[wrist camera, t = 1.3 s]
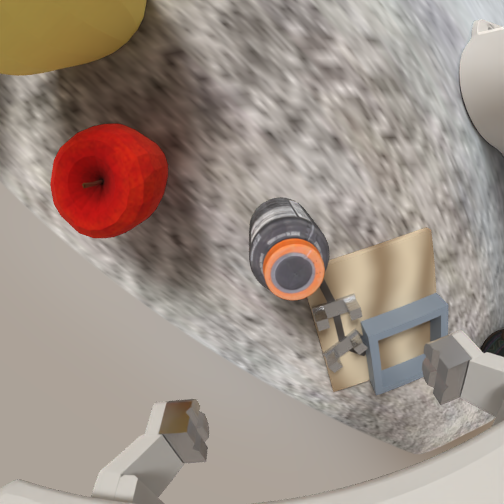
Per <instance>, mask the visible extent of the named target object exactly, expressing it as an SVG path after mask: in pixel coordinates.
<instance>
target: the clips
mask: <svg viewBox="0 0 504 504" xmlns="http://www.w3.org/2000/svg"><path fill="white" fill-rule="evenodd" d="M311 309H312V312H313V315H314V319H315V322H316V324H317V327H318V330H319V331H322V330H325V329H328V328H330V325H329V321H328V318H332V317H335V316H338V315H341V314H344V313H347V312H348V314H349V316H350V318H351V320H355V319H358V318H361V317H362V311H361V307H360V305H359V303H358V302H357V300H356V298H355V294H354V293H353V294H350V295H347V296H344V297H341V298H338V299H335V300H334V301H331V302H326V303H323V304H320V305H317V306H313V307H311ZM352 348H354V350H355V351H356V352H357V353H358V354H359V355H360V354H361V353H363V352H364V351H365V350H367V349H368V347H367V345H366V343H365V341H364V337H363V336H362V335H361V334H360V333H359V331H358V330H357V329H356V328H355V329H354V330H352V331H351V332H350V333H349V334H347V335H346V336H345V337H344V338H343V339H342V340H340V341H338V342H337V343H335V344H334V345H333V346H331V347H330V348H329V349H327V350H326V351H325V352H323V355H324V356H325V358H326V361H327V364H328V368H329V369H331V370H332V371H333V372H334V373H335V372H336V371H338V370H339V369H341V368H342V367H343V365H342V363H341V360H340V357H341V356H342V355H344V354H345V353H346V352H348V351H349V350H350V349H352Z"/></svg>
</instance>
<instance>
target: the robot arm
mask: <svg viewBox="0 0 504 504" xmlns="http://www.w3.org/2000/svg"><path fill="white" fill-rule="evenodd" d="M459 76H460V86H461V91H462V96H463V100H464V103H465V106H466V109H467V111H468V114H469V116H470V118H471V120H472V122H473V124H474V125H475V127H476V129H477V130H478V132H479V133H480V134H481V135H482V137H483V138H484V139H485V140H486V141H487V142H488V143H489V144H491V145H492V146H493V147H495V148H496V149H498V150H499V151H500V152H501V153H502V155H503V156H504V27H502V26H499V25H496V24H493V23H491V22H488V21H485V20H476V21H474V23H473V27H472V37H471V40H470V41H469V43H468V44H467V45H466V47H465V49H464V51H463V53H462V56H461V60H460V70H459ZM423 353H424V354H425V355H426V357H425V359H424V360H423V362H422V372H423V377H424V379H425V381H426V383H427V384H428V385H429V386H431V387H434V391H433V394H434V396H435V397H436V399H437V400H438V402H439V404H440V405H442V404H445V403H447V402H450V401H452V400H454V399H457V398H459V397H460V398H461V399H463V400H465V401H466V402H468V403H470V404H472V405H474V406H476V407H478V408H480V409H482V410H483V411H485V412H487V413H489V414H491V415H493V416H495V417H496V418H495V420H494V423H493V425H492V427H491V428H489V429H488V430H486V431H484V432H482V433H481V434H479V435H477V436H475V437H473V438H471V439H469V440H467V441H466V442H463V443H461V444H460V445H458V446H455V447H453V448H451V449H449V450H447V451H445V452H443V453H441V454H438V455H436V456H434V457H432V458H429V459H427V460H424V461H422V462H420V463H417V464H415V465H412V466H410V467H407V468H404V469H401V470H399V471H396V472H393V473H390V474H387V475H385V476H381V477H378V478H375V479H372V480H368V481H365V482H362V483H358V484H355V485H351V486H348V487H344V488H340V489H336V490H332V491H327V492H323V493H318V494H314V495H309V496H303V497H297V498H291V499H286V500H278V501H271V502H262V503H253V504H504V357H502V356H498V355H495V354H492V353H488V352H486V353H483V352H482V351H481V350H480V349H479V348H478V347H477V346H476V344H475V343H474V342H473V341H472V340H471V339H470V338H469V337H468V336H467V335H466V334H465V333H464V332H463V331H462V330H458V331H456V332H453V333H451V334H449V335H446V336H444V337H441V338H439V339H436V340H434V341H431V342H429V343H426V344H425V346H424V352H423ZM199 409H200V405H199V403H198V401H197V400H196V399H189V400H176V401H165V402H156V403H155V404H154V405H153V408H152V411H151V414H150V418H149V421H148V424H147V428H146V431H145V435H141V436H139V437H138V438H137V439H136V440H135V441H134V442H133V443H132V444H130V445H129V446H128V447H127V448H126V449H125V450H124V451H123V452H122V453H120V454H119V455H118V456H117V457H116V458H115V459H114V460H112V461H111V462H110V463H109V464H108V465H106V466H105V467H104V468H103V469H102V470H101V471H100V472H99V475H98V477H97V481H96V484H95V486H94V489H93V492H92V495H91V497H87V496H82V495H77V494H72V493H68V492H63V491H59V490H55V489H51V488H47V487H44V486H40V485H37V484H34V483H30V482H27V481H24V480H14V481H12V482H10V483H8V484H7V485H5V486H3V487H2V488H0V504H164V503H163V502H162V501H161V500H160V499H159V498H158V497H159V496H160V495H161V494H162V492H163V491H164V490H165V488H166V487H167V486H168V485H169V483H170V482H171V481H172V480H173V478H174V477H175V476H176V474H177V473H178V472H179V470H180V469H181V468H182V466H183V465H184V464H183V463H196V462H206V459H207V449H208V447H207V445H206V444H205V441H206V440H207V439H208V438H209V426H208V422H207V418H206V416H205V414H204V413H202V412H200V411H199Z"/></svg>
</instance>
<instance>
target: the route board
mask: <svg viewBox="0 0 504 504" xmlns="http://www.w3.org/2000/svg"><path fill="white" fill-rule="evenodd" d="M353 293H354V294H355V298H356V300H357V302H358V303H359V305H360V307H361V311H362V317H361V318H358V319H355V320H351V318H350V316H349V314H348V312H347V313H344V314H341V315H338V316H335V317H332V318H328V321H329V325H330V328H328V329H325V330H322V331H319V330H318V327H317V324H316V322H315V319H314V315H313V312H312V309H311V307H313V306H317V305H320V304H323V303H326V302H331V301H334V300H335V299H338V298H341V297H344V296H347V295H350V294H353ZM434 293H436V280H435V265H434V253H433V243H432V234H431V230H430V229H429V228H427V227H426V228H423V229H420V230H418V231H415V232H412V233H409V234H406V235H403V236H400V237H397V238H395V239H392V240H389V241H386V242H383V243H380V244H377V245H374V246H371V247H368V248H365V249H362V250H359V251H356V252H353V253H350V254H347V255H344V256H341V257H338V258H335V259H332V260H329V262H328V266H327V269H326V271H325V275H324V278H323V281H322V283H321V285H320V287H319V288H318V289H317V290H316V291H315V292H314V293H313V294H312V295H310V296H308V297H307V299H308V302H309V305H310V309H311V312H312V316H313V319H314V323H315V326H316V330H317V333H318V337H319V340H320V344H321V348H322V351H323V352H325V351H326V350H327V349H329V348H330V347H331V346H333V345H334V344H335V343H337V342H338V341H340V340H342V339H343V338H344V337H345V336H346V335H347V334H349V333H350V332H351V331H352V330H354V329H355V328H356V329H357V330H358V331H359V333H360V334H361V335H362V336H363V334H362V328H361V321H364V320H366V319H369V318H372V317H375V316H378V315H380V314H383V313H386V312H388V311H391V310H394V309H396V308H399V307H402V306H404V305H407V304H409V303H412V302H414V301H417V300H419V299H422V298H424V297H427V296H429V295H432V294H434ZM429 342H430V320H429V321H427V322H424V323H422V324H419V325H417V326H415V327H412V328H410V329H407V330H405V331H402V332H400V333H397V334H394V335H392V336H389V337H387V338H384V339H381V340H378V345H379V353H380V361H381V370H384V369H387V368H390V367H392V366H395V365H397V364H400V363H402V362H405V361H407V360H410V359H412V358H415V357H417V356H419V355H422V354H424V353H423V352H424V346H425V344H426V343H429ZM324 358H325V356H324ZM340 360H341V363H342V365H343V367H342V368H341V369H339V370H338V371H336V372H335V373H334V372H333V371H332V370H331V369H329V368H328V364H327V361H326V358H325V362H326V366H327V369H328V373H329V377H330V381H331V384H332V388H333V392H335V391H338V390H342V389H345V388H348V387H351V386H354V385H357V384H360V383H363V382H366V381H368V380H370V378H369V371H368V364H367V358H366V351H364V352H363V353H361V354H360V355H359V354H358V353H357V352H356V351H355V350H354V348H352V349H350V350H349V351H348V352H346V353H345V354H344V355H342V356H341V357H340Z"/></svg>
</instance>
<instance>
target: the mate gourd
mask: <svg viewBox="0 0 504 504" xmlns="http://www.w3.org/2000/svg"><path fill="white" fill-rule="evenodd" d="M481 351H482V352H483V353H486V352H488V353H492V354H495V355H498V356H502V357H504V329H502V330H498V331H496V332H494V333H492V334H491V335H490V336H489V337H488V338H487V339H486V341H485V342H484V344H483V346H482V349H481Z"/></svg>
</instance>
